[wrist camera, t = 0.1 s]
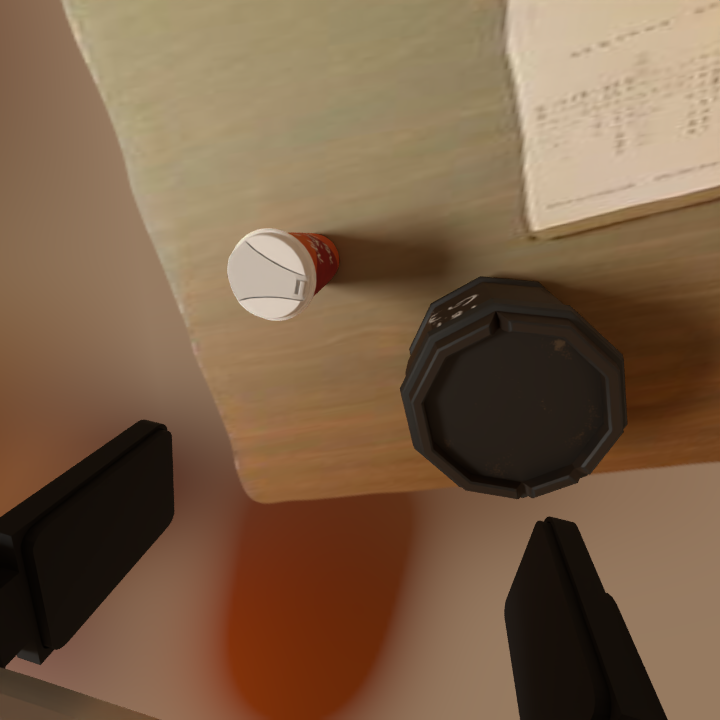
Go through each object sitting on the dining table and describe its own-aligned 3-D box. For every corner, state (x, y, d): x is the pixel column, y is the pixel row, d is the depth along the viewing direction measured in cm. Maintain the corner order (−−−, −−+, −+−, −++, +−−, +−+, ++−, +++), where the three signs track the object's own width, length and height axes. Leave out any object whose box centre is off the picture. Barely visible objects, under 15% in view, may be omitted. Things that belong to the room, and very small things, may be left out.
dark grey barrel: (526, 447, 49) (561, 547, 34) (389, 386, 50) (368, 459, 35) (617, 314, 42) (709, 369, 28) (457, 245, 43) (464, 263, 28)
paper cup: (355, 233, 44) (319, 242, 31) (340, 300, 47) (302, 335, 34) (287, 215, 45) (225, 217, 32) (277, 283, 48) (216, 310, 35)
